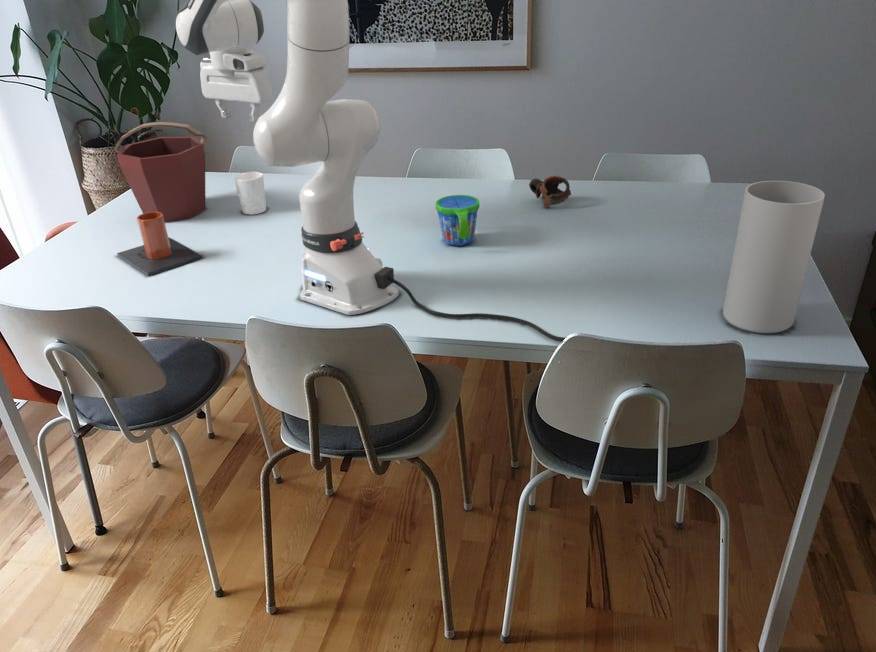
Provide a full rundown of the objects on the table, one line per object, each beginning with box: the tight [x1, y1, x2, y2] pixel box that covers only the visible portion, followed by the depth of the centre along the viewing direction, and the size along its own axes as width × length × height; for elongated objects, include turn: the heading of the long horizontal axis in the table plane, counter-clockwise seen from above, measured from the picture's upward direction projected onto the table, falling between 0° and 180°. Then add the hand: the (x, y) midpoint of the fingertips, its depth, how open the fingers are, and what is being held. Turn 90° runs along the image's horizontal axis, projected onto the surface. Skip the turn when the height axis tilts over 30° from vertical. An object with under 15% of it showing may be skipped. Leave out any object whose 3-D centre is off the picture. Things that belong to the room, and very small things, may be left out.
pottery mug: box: [528, 175, 572, 209], centre depth 200 cm, size 12×10×8 cm
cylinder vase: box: [722, 180, 826, 334], centre depth 134 cm, size 12×12×25 cm
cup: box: [136, 212, 172, 259], centre depth 179 cm, size 6×6×10 cm
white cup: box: [233, 171, 267, 215], centre depth 206 cm, size 8×8×10 cm
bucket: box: [114, 121, 208, 223], centre depth 204 cm, size 24×22×25 cm
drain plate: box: [116, 236, 203, 277], centre depth 182 cm, size 18×14×1 cm
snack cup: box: [435, 194, 481, 247], centre depth 179 cm, size 16×10×10 cm
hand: (240, 119), depth 178 cm, fingers open, 8 cm apart
